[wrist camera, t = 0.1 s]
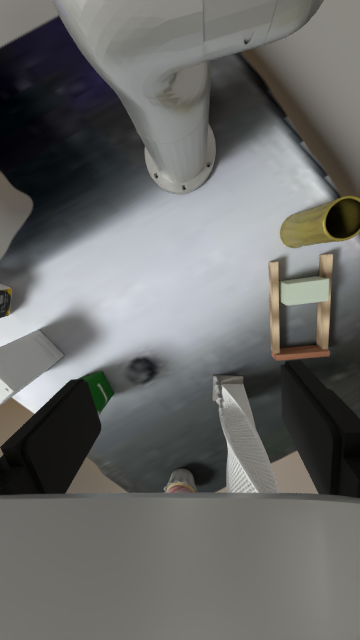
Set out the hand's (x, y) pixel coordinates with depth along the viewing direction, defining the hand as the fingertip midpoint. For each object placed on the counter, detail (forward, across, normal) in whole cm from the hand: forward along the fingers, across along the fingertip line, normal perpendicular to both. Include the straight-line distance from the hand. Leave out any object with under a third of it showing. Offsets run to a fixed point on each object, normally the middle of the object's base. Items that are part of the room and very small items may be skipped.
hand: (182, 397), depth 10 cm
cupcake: (+37, +11, +54) cm, 66 cm away
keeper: (+37, -20, +3) cm, 42 cm away
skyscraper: (+37, -5, +26) cm, 45 cm away
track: (+37, -20, +7) cm, 42 cm away
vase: (+37, -20, -8) cm, 43 cm away
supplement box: (+37, +41, +11) cm, 56 cm away
